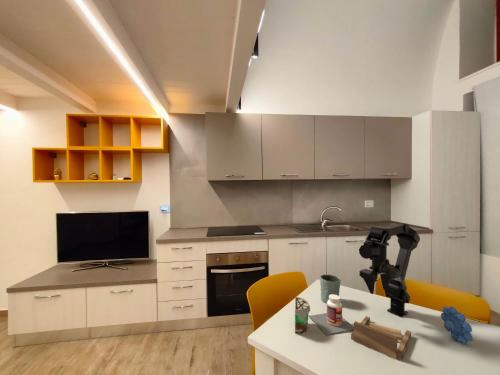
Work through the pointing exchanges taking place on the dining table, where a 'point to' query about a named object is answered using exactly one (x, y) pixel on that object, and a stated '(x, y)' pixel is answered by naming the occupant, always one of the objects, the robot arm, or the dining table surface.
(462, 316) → the grapes
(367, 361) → the dining table surface
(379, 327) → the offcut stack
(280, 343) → the dining table surface
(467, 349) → the dining table surface
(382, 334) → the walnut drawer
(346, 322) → the slate mat
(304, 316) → the food container
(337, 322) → the pill bottle
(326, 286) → the grey-green rounded cylinder
